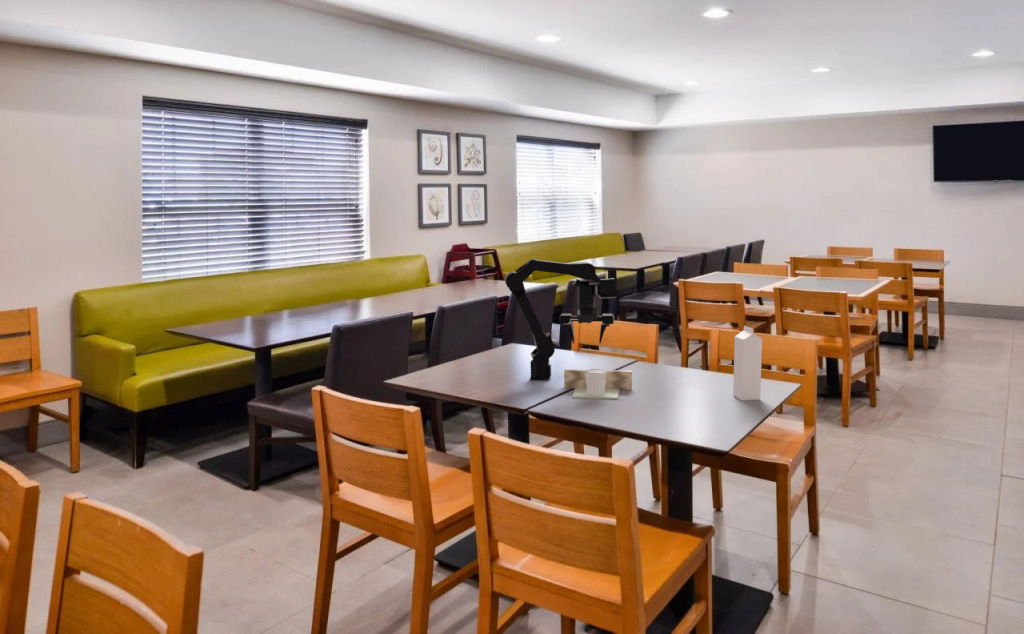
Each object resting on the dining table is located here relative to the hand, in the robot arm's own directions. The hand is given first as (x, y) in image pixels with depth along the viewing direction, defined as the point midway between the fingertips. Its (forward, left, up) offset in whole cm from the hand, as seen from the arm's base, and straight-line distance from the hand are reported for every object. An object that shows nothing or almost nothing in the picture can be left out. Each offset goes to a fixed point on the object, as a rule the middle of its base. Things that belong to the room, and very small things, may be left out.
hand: (586, 343), depth 253 cm
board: (+5, -16, -12) cm, 21 cm away
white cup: (+5, -24, -12) cm, 27 cm away
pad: (+5, -24, -12) cm, 27 cm away
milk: (+51, -23, -12) cm, 57 cm away
